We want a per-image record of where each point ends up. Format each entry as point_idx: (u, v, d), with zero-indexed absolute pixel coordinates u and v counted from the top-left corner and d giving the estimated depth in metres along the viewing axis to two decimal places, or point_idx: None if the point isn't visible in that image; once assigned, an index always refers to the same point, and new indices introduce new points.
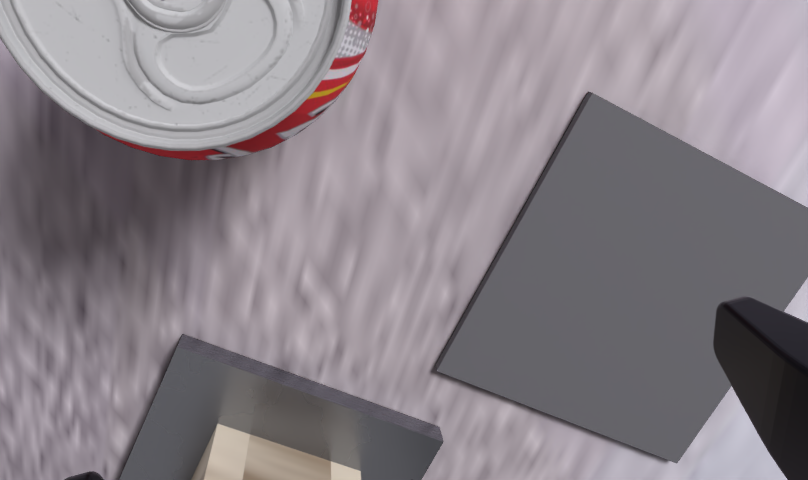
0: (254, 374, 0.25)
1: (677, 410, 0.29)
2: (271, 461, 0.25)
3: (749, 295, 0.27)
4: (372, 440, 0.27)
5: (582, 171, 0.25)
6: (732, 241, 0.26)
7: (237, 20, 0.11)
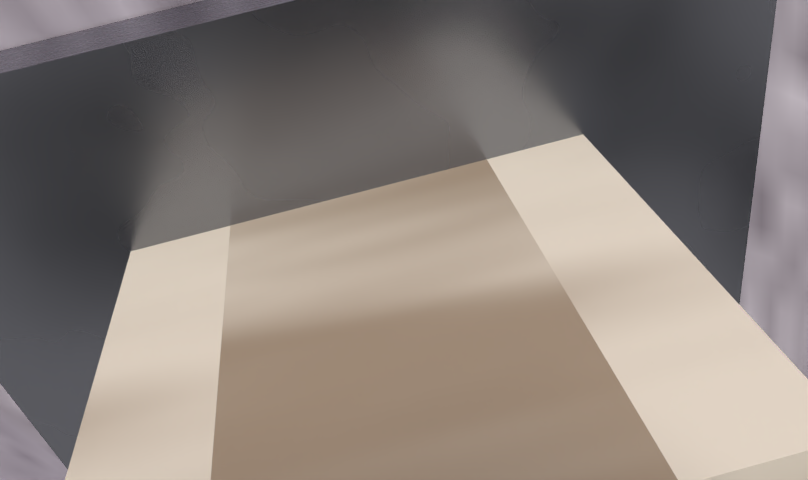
0: (73, 55, 0.07)
1: None
2: (308, 258, 0.08)
3: None
4: (562, 24, 0.08)
5: None
6: None
7: None
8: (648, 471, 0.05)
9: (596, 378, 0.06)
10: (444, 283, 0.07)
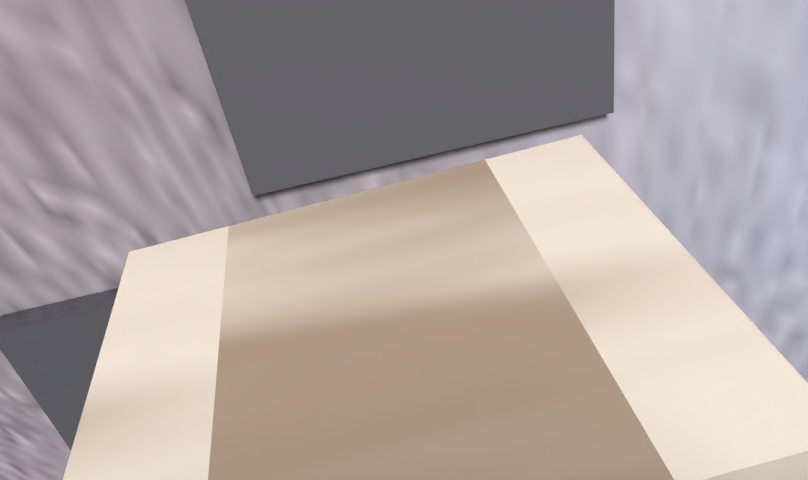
0: (80, 314, 0.22)
1: (565, 55, 0.21)
2: (306, 259, 0.08)
3: None
4: None
5: None
6: None
7: None
8: (645, 472, 0.05)
9: (593, 379, 0.06)
10: (441, 283, 0.07)
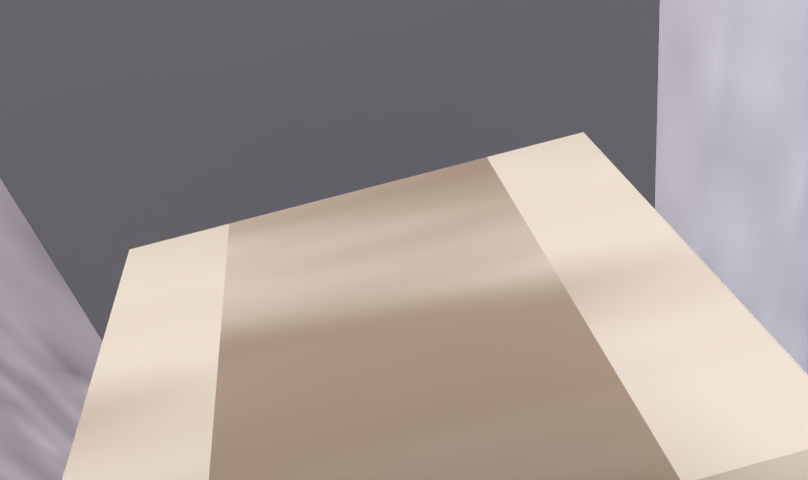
0: None
1: None
2: (307, 256, 0.08)
3: (564, 74, 0.13)
4: None
5: (46, 126, 0.11)
6: (442, 14, 0.12)
7: None
8: (649, 469, 0.05)
9: (596, 376, 0.06)
10: (443, 280, 0.07)
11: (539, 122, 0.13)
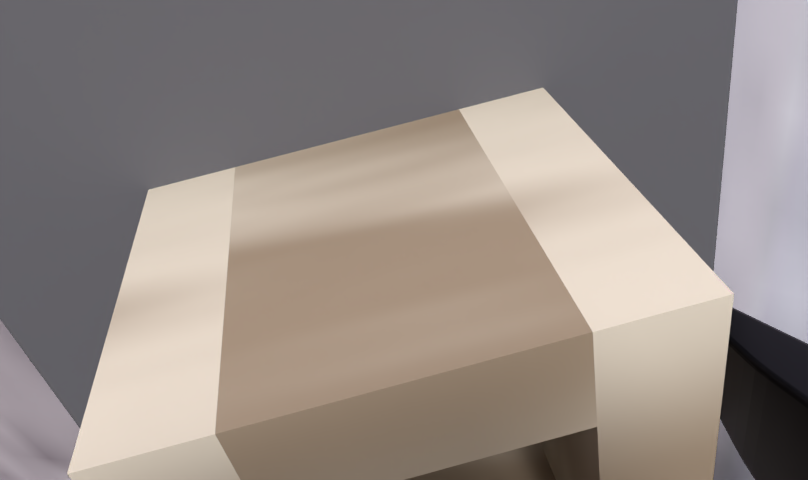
0: None
1: None
2: (302, 189, 0.09)
3: (619, 128, 0.11)
4: None
5: (6, 196, 0.10)
6: (478, 63, 0.10)
7: None
8: (569, 324, 0.06)
9: (535, 264, 0.07)
10: (416, 202, 0.08)
11: None
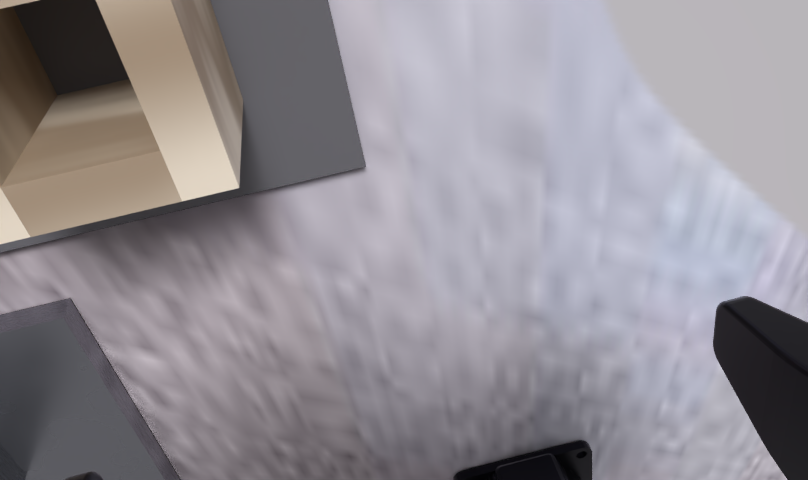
0: None
1: (298, 111, 0.20)
2: None
3: None
4: None
5: None
6: None
7: None
8: None
9: None
10: None
11: None
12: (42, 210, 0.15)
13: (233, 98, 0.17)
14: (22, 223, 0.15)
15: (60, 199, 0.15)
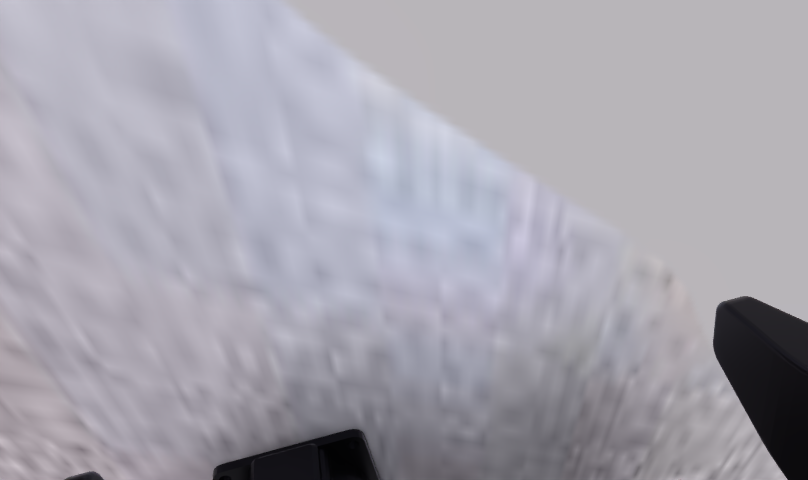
0: None
1: None
2: None
3: None
4: None
5: None
6: None
7: None
8: None
9: None
10: None
11: None
12: None
13: None
14: None
15: None
